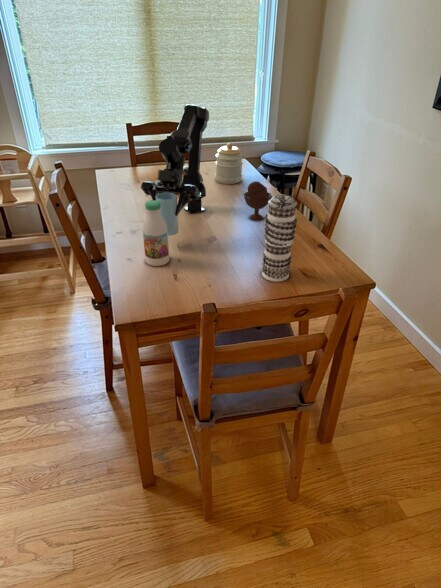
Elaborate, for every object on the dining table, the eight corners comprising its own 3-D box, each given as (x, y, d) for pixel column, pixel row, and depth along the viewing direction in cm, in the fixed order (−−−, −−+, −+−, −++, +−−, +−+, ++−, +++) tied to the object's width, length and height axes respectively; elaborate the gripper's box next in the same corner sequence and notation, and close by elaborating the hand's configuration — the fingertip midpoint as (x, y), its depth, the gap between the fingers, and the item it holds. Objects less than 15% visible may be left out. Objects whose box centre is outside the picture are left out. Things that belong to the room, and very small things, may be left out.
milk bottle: (146, 255, 136) (140, 198, 125) (169, 254, 136) (166, 197, 125) (145, 267, 129) (138, 207, 118) (169, 266, 130) (165, 207, 119)
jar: (217, 175, 206) (217, 139, 196) (242, 176, 205) (244, 140, 195) (213, 183, 196) (213, 145, 186) (240, 185, 194) (242, 147, 184)
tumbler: (157, 228, 140) (154, 193, 133) (176, 226, 142) (174, 191, 135) (159, 236, 135) (156, 200, 128) (180, 234, 136) (178, 199, 129)
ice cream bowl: (268, 224, 157) (271, 186, 149) (240, 222, 159) (241, 184, 151) (271, 214, 166) (274, 177, 158) (244, 211, 168) (246, 175, 159)
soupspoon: (193, 169, 215) (181, 170, 214) (193, 163, 213) (180, 164, 213) (199, 181, 197) (185, 183, 196) (198, 175, 195) (185, 176, 194)
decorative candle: (269, 284, 122) (277, 205, 108) (255, 270, 129) (260, 194, 115) (295, 278, 125) (306, 201, 111) (280, 264, 132) (288, 190, 118)
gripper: (139, 156, 130) (130, 201, 127) (196, 160, 127) (187, 207, 124) (150, 172, 141) (142, 215, 138) (202, 177, 138) (195, 220, 135)
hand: (165, 214), depth 134 cm, fingers closed on tumbler, 7 cm apart
